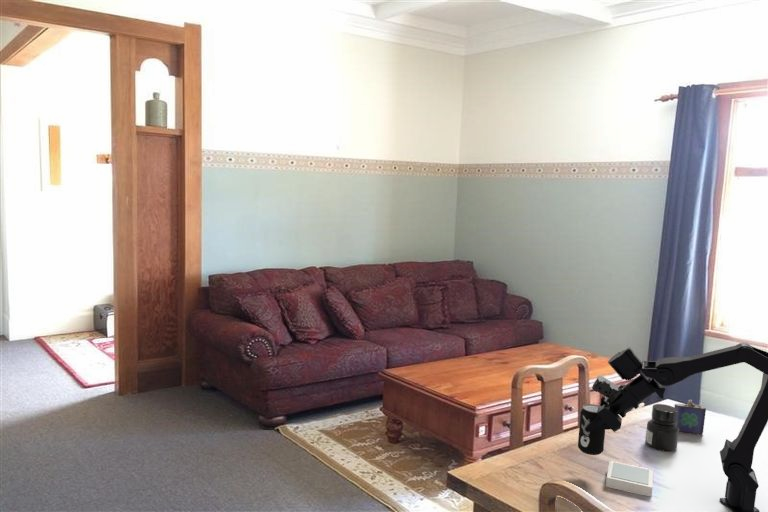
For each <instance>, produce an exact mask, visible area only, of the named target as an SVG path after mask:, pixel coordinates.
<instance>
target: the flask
mask: <svg viewBox="0 0 768 512" xmlns="http://www.w3.org/2000/svg"><path fill="white" fill-rule="evenodd" d="M687 401H688V402H687V404H685V403H674V406H673V407H674V408H676V409H677V418H676V422H675V424H676V425H677V426H678V428H679V433H681V434H687V435H689V434H691V435H695V436H697V435H698V436H703V433H704V427H705V420H706V411H707V408H706V407H705V406H702V405H701V404H695V403H694V402H693V400H692V399H688V400H687Z"/></svg>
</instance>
